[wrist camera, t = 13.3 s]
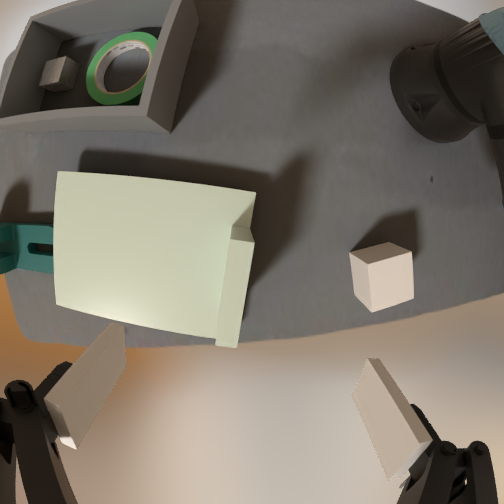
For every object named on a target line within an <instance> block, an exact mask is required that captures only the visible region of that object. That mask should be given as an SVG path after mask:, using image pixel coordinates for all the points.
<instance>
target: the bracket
mask: <svg viewBox="0 0 504 504" xmlns="http://www.w3.org/2000/svg"><path fill="white" fill-rule="evenodd" d="M53 232H54V224H44V223H10V222H0V274H3V273H6V272H9V271H11V270H13V269H15V268H20V269H26V270H32V271H38V272H45V273H54V257H53V252H45V251H38V250H37V249H36V247H35V243H43V244H52V245H53Z"/></svg>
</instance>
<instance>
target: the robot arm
mask: <svg viewBox="0 0 504 504" xmlns="http://www.w3.org/2000/svg"><path fill="white" fill-rule="evenodd" d="M390 84H391V89H392V93H393V96H394V98H395V101H396V103H397V105H398V107H399V109H400V111H401V112H402V114H403V115H404V117H405V118H406V120H407V121H408V122H409V123H410V124H411V126H412V127H413V128H414V129H415V130H416V131H418V132H419V133H420V134H421V135H423V136H424V137H426V138H428V139H430V140H432V141H434V142H438V143H449V142H455V141H459V140H461V139H463V138H464V137H466V136H467V135H468V134H469V133H470V132H471V131H473V130H474V129H475V128H477V127H478V126H479V125H481V124H483V123H486V126H487V129H488V133H489V136H490V140H491V144H492V148H493V151H494V155H495V159H496V164H497V168H498V173H499V178H500V183H501V189H502V196H503V199H502V204H503V209H504V7H502V8H499V9H496V10H494V11H492V12H490V13H485V14H481V15H480V16H479V18H477V19H476V20H474V21H472V22H470V23H469V24H467V25H465V26H464V27H462V28H461V29H459V30H457V31H456V32H454V33H453V34H451V35H449V36H448V37H446V38H445V39H443V40H442V41H440V42H439V43H432V44H425V45H416V46H412V47H409V48H407V49H405V50H404V51H403V52H401V53H400V54H399V55H398V56H397V57H396V58H395V59H394V61H393V63H392V65H391V69H390ZM125 368H126V353H125V335H124V325H121V324H117V323H114V322H111V323H110V324H109V325H108V326H107V327H106V328H105V329H104V330H103V331H102V333H101V334H100V335H99V336H98V337H97V338H96V339H95V340H94V341H93V342H92V343H91V345H90V346H89V347H88V348H87V349H86V350H85V351H84V352H83V353H82V355H81V356H80V357H79V358H78V359H77V360H76V361H75V363H74V364H72V363H69V362H63V363H61V364H60V365H57V366H56V368H54V370H53V371H52V372H51V373H50V374H49V375H48V376H47V378H45V379H44V380H43V382H42V383H41V384H40V385H39V386H38V387H37V388H36V389H35V390H34V391H33V388H32V386H31V385H30V384H29V383H28V382H26V381H24V380H16V381H12V382H10V383H8V384H7V386H6V387H5V390H4V393H5V395H6V397H7V399H4V398H0V504H16V500H15V498H16V497H15V477H16V475H15V474H16V457H17V459H18V464H19V469H20V473H21V478H22V482H23V486H24V490H25V493H26V496H27V500H28V503H29V504H78V503H77V501H76V499H75V496H74V494H73V491H72V489H71V486H70V483H69V481H68V478H67V476H66V473H65V470H64V467H63V464H62V461H61V458H60V455H59V451H58V448H57V444H56V442H55V439H56V438H57V436H58V435H59V437H60V439H61V442H62V443H63V444H65V445H68V446H70V447H72V448H74V449H78V447H79V445H80V443H81V442H82V440H83V438H84V437H85V435H86V433H87V431H88V430H89V428H90V426H91V424H92V423H93V421H94V419H95V418H96V416H97V414H98V412H99V411H100V409H101V407H102V406H103V404H104V402H105V401H106V399H107V397H108V395H109V394H110V392H111V391H112V389H113V387H114V386H115V384H116V382H117V381H118V379H119V378H120V376H121V374H122V373H123V371H124V370H125ZM352 397H353V400H354V402H355V404H356V407H357V409H358V411H359V413H360V415H361V418H362V420H363V422H364V425H365V427H366V429H367V431H368V434H369V436H370V438H371V441H372V443H373V445H374V448H375V450H376V452H377V455H378V457H379V459H380V462H381V464H382V467H383V469H384V471H385V474H386V476H387V479H388V480H393V479H397V478H401V477H402V476H403V475H404V474H405V473H406V472H407V471H408V470H409V472H410V474H411V475H410V476H409V477H408V478H407V479H406V480H405V481H404V482H403V483H402V484H401V486H400V487H399V488H402V487H403V486H404V485H405V486H404V488H403V491H402V493H401V495H400V497H399V500H398V502H397V504H498V498H497V491H496V484H495V478H494V471H493V466H492V461H491V457H490V452H489V449H488V447H487V445H486V444H485V443H483V442H481V441H474V442H472V443H471V444H470V445H469V446H468V448H463V449H461V448H460V449H459V448H458V449H457V448H456V446H455V445H454V444H453V443H451V442H449V441H441V439H440V438H439V436H438V435H437V433H436V432H435V430H434V429H433V427H432V426H431V424H430V423H429V421H428V420H427V418H425V415H424V414H423V412H422V411H421V410H420V409H419V408H418V407H417V406H416V405H414V404H409V403H408V401H407V399H406V398H405V396H404V395H403V393H402V392H401V390H400V389H399V387H398V386H397V384H396V383H395V381H394V380H393V378H392V377H391V375H390V374H389V372H388V371H387V370H386V368H385V367H384V366H383V364H382V362H381V361H380V359H371V358H368V359H367V361H366V363H365V366H364V368H363V371H362V373H361V375H360V378H359V380H358V382H357V384H356V387H355V389H354V391H353V393H352ZM466 479H467V484H466V485H465V480H466Z"/></svg>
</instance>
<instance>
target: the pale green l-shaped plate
mask: <svg viewBox="0 0 504 504" xmlns="http://www.w3.org/2000/svg"><path fill="white" fill-rule="evenodd" d="M255 196H256V192H250V191H244V190H237V189H231V188H224V187H217V186H210V185H203V184H196V183H188V182H180V181H172V180H163V179H154V178H144V177H134V176H123V175H111V174H98V173H83V172H64V171H58V175H57V184H56V194H55V208H54V232H53V257H54V281H55V295H56V305H60V306H63V307H67V308H70V309H74V310H78V311H81V312H85V313H89V314H93V315H97V316H101V317H105V318H109V319H113V320H118V321H122V322H126V323H131V324H136V325H140V326H145V327H150V328H155V329H160V330H166V331H171V332H177V333H183V334H189V335H195V336H201V337H208V338H215V339H216V343H215V345H217V346H225V347H233V348H237V344H238V338H239V332H240V326H241V320H242V314H243V309H244V303H245V297H246V291H247V285H248V279H249V273H250V268H251V262H252V256H253V250H254V244H255V242H254V239H253V236H252V233H251V230H250V226H251V220H252V214H253V208H254V202H255Z"/></svg>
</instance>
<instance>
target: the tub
mask: <svg viewBox="0 0 504 504" xmlns="http://www.w3.org/2000/svg"><path fill="white" fill-rule="evenodd" d="M198 25H199V17H198V14H197V10H196V7H195V3H194V0H78V1H74V2H71V3H67V4H64V5H61V6H58V7H55V8H52V9H50V10H47V11H44V12H42V13H39V14H37V15H34V16H32V17H30V19H29V21H28V23H27V25H26V27H25V30H24V32H23V34H22V36H21V38H20V41H19V43H18V45H17V48H16V50H15V53H14V55H13V58H12V60H11V63H10V66H9V68H8V71H7V74H6V77H5V80H4V83H3V87H2V90H1V93H0V129H6V130H12V131H18V132H24V133H30V134H34V133H47V132H64V131H137V132H156V133H171V130H172V125H173V121H174V116H175V111H176V106H177V102H178V98H179V93H180V89H181V85H182V81H183V77H184V73H185V69H186V65H187V62H188V58H189V54H190V51H191V47H192V44H193V41H194V37H195V34H196V31H197V28H198ZM149 27H162V29H161V32H160V35H159V38H158V41H157V44H156V47H155V50H154V53H153V56H152V59H151V63H150V66H149V69H148V73H147V76H146V80H145V84H144V88H143V92H142V96H141V100H140V104H139V106H98V107H81V108H68V109H58V110H49V111H41V112H40V108H41V104H42V101H43V97H44V93H45V90H46V89H45V88H43V87H40V86H39V83H40V80H41V77H42V73H43V70H44V67H45V64H46V61H49V60H53V59H56V56H57V54H58V51H59V48H60V46H61V43H62V41H65V40H69V39H73V38H78V37H83V36H88V35H93V34H99V33H105V32H111V31H119V30H127V29H137V28H149Z"/></svg>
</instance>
